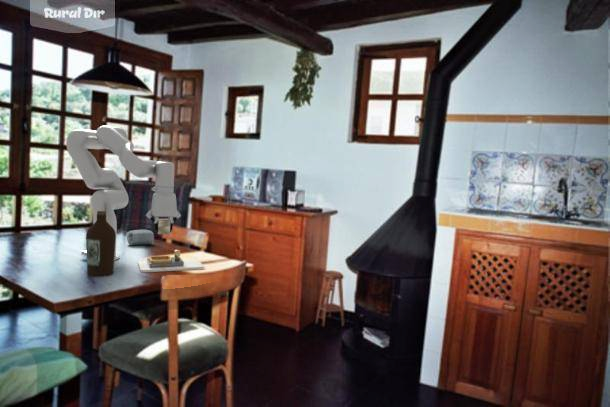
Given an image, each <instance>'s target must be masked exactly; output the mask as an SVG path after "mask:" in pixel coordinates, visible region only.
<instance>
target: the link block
mask: <svg viewBox="0 0 610 407" xmlns="http://www.w3.org/2000/svg"><path fill="white" fill-rule="evenodd" d="M157 234H158V235H171V232H170V219H169V218H158V233H157Z"/></svg>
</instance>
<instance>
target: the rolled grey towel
mask: <svg viewBox="0 0 610 407" xmlns="http://www.w3.org/2000/svg"><path fill="white" fill-rule="evenodd" d="M126 240H127V241H126V242H127V243H128V245H129V246H139V245H140V246H141V245H143V246H144V245H145V246H146V245H147V246H148V245H152V244H153V243H154V240H155V236H154V232H153V231H152V230H148V229H135V230H134V229H133V230H129V231H128V232H127V235H126Z"/></svg>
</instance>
